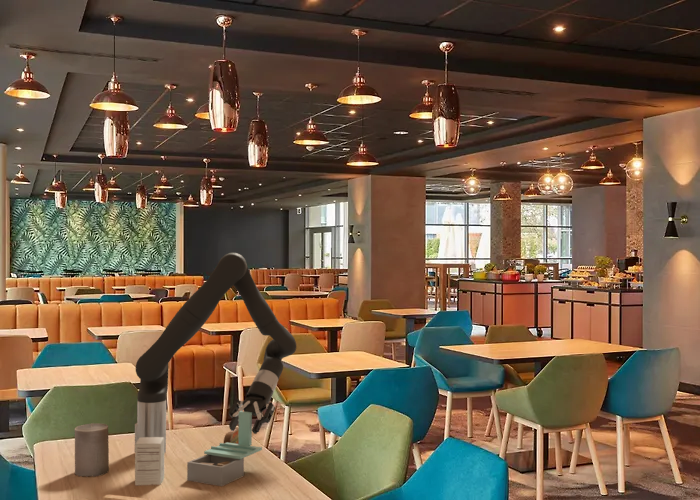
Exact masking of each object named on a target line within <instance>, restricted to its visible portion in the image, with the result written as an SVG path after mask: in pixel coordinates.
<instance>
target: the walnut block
mask: <svg viewBox="0 0 700 500" xmlns="http://www.w3.org/2000/svg"><path fill="white" fill-rule="evenodd" d="M228 463H231V462H230V461H226V462H222V463H218V464H217V466H224V465H226V464H228Z"/></svg>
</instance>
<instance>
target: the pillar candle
mask: <svg viewBox="0 0 700 500" xmlns="http://www.w3.org/2000/svg"><path fill="white" fill-rule="evenodd" d="M109 443H110V442H109V425H108V424H106V423H97V422H95V423H94V422H91V423H86V424H82V425H81V424H80V425H77V426H76V427H74V475H75V474H76V475H75V476H77V475H78V476H77V477H80V476H86V477H88V476H93V477H99V476H103V475H105V474H107V473H108V472H109V471H110V470H109V469H110V468H109V467H110V464H109V463H110V461H109V458H110V457H109V455H110V454H109V453H110V452H109V447H110V446H109Z"/></svg>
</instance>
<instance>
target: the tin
mask: <svg viewBox="0 0 700 500" xmlns="http://www.w3.org/2000/svg"><path fill="white" fill-rule="evenodd" d="M227 442H228V443H235V444H239V426H238V427H237V426H236V428H235V430H234V431H231V430H229V431H228V432H226V434H225V435H224V438H223V443H227Z"/></svg>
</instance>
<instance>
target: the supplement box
mask: <svg viewBox="0 0 700 500" xmlns="http://www.w3.org/2000/svg"><path fill="white" fill-rule="evenodd" d="M164 479H165V453H164V437H141V438H139V439H138V441H137V442H136V443H135V442H134V485H135V486H160V485H162V483H163V482H164Z"/></svg>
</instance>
